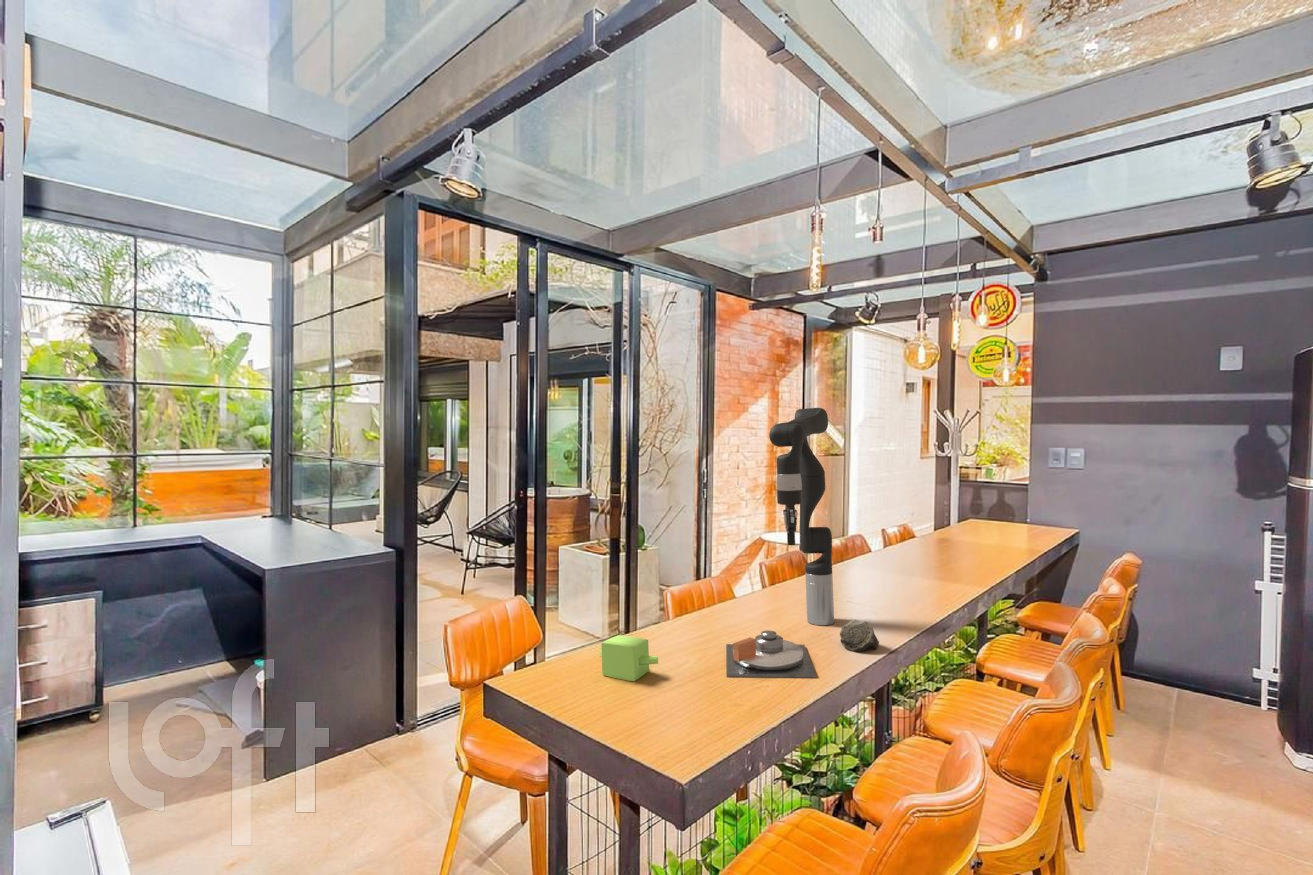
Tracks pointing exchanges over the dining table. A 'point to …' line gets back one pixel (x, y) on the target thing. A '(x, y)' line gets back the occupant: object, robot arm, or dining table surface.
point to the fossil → (858, 636)
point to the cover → (769, 642)
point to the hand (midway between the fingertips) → (791, 544)
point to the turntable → (767, 655)
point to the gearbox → (626, 657)
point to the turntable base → (798, 671)
